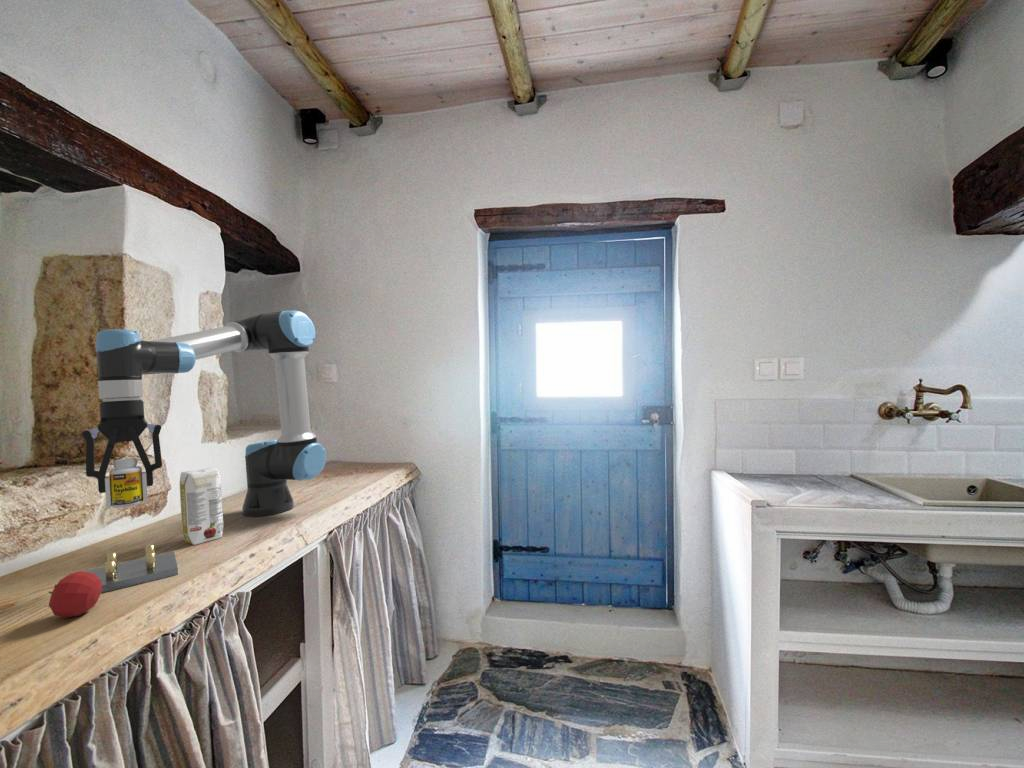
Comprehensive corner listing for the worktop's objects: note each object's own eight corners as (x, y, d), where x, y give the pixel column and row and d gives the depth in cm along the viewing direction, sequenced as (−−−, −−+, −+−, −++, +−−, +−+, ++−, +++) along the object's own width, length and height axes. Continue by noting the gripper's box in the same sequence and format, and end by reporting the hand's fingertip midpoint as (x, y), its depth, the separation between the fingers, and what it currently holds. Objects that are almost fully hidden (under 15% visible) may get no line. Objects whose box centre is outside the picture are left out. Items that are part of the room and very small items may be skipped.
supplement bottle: (109, 510, 100) (106, 462, 100) (113, 505, 105) (110, 459, 105) (142, 505, 103) (139, 459, 103) (145, 500, 108) (142, 456, 108)
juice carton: (226, 537, 129) (222, 468, 129) (190, 547, 122) (186, 474, 122) (215, 532, 133) (211, 466, 133) (180, 542, 126) (176, 472, 126)
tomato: (104, 563, 88) (55, 562, 86) (81, 603, 82) (27, 603, 80) (113, 585, 93) (66, 585, 91) (91, 625, 87) (40, 626, 85)
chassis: (174, 557, 115) (173, 537, 115) (178, 574, 104) (176, 551, 104) (86, 577, 105) (85, 555, 105) (80, 598, 94) (78, 573, 94)
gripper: (172, 397, 112) (177, 493, 113) (66, 402, 101) (72, 509, 101) (174, 397, 107) (179, 498, 107) (61, 402, 95) (68, 516, 95)
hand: (127, 503), depth 104 cm, fingers closed on supplement bottle, 6 cm apart
